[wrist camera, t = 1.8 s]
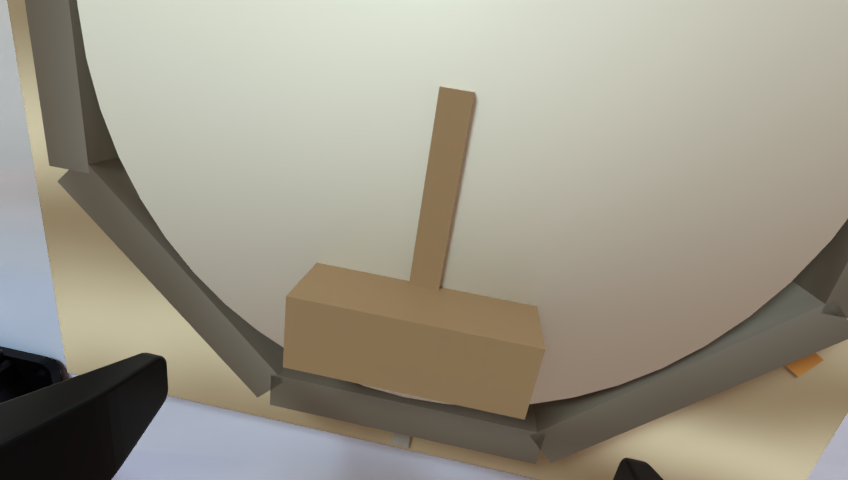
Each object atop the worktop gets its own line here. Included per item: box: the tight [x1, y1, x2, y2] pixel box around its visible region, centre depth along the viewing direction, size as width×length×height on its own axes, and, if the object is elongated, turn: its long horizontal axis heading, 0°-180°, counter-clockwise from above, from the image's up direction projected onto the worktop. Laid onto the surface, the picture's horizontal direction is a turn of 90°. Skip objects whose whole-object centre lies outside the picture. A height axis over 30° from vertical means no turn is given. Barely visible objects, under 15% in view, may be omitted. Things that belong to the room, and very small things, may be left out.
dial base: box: [7, 0, 848, 480], centre depth 12 cm, size 26×26×3 cm
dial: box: [77, 0, 848, 420], centre depth 10 cm, size 19×19×4 cm
